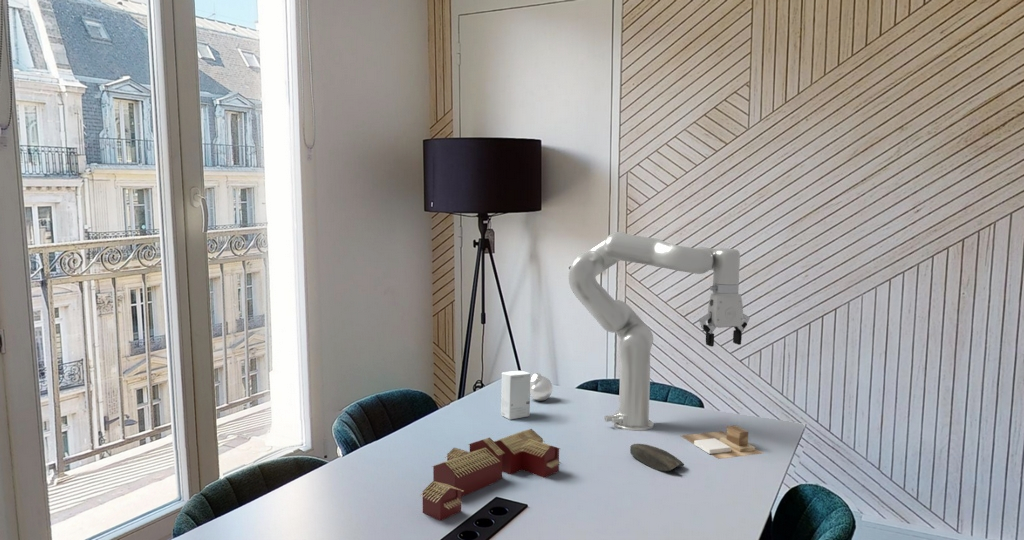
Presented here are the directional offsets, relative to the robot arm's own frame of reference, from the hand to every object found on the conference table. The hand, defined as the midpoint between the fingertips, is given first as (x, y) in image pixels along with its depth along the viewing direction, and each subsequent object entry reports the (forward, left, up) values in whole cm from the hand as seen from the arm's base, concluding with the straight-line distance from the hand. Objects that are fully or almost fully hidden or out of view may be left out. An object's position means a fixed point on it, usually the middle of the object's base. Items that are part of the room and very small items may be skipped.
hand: (723, 344), depth 218 cm
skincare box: (-55, +36, -28) cm, 72 cm away
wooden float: (-2, -12, -28) cm, 30 cm away
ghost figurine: (-41, +51, -28) cm, 71 cm away
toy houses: (-80, -15, -29) cm, 87 cm away
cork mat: (-6, -9, -28) cm, 30 cm away
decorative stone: (-32, -16, -29) cm, 46 cm away
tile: (-10, -8, -27) cm, 30 cm away
